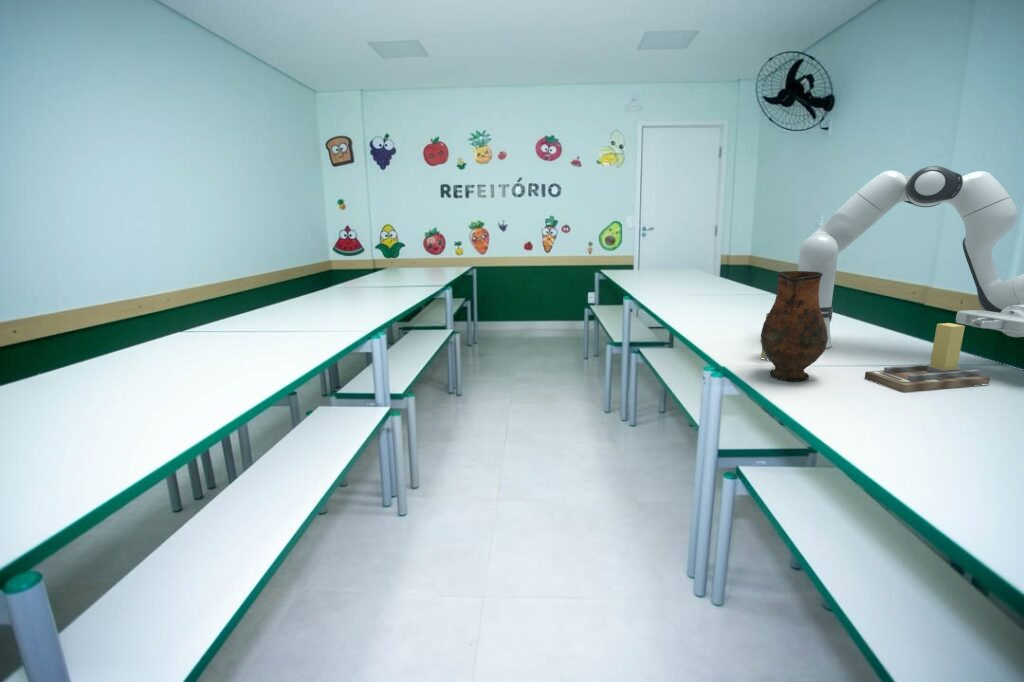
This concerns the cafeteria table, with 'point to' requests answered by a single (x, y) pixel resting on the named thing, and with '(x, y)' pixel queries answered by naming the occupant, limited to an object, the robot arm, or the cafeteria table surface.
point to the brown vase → (795, 326)
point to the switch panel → (924, 378)
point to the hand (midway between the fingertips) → (977, 324)
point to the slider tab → (946, 348)
